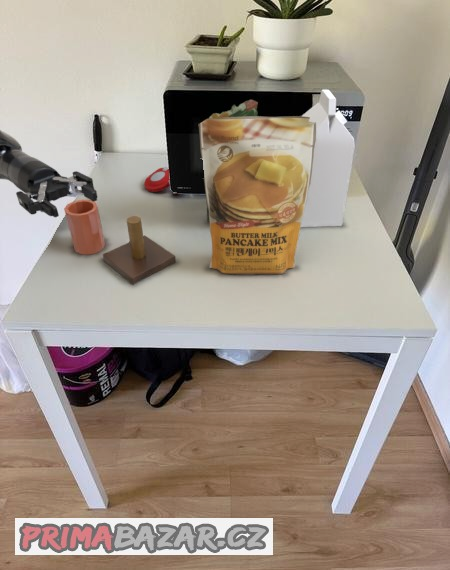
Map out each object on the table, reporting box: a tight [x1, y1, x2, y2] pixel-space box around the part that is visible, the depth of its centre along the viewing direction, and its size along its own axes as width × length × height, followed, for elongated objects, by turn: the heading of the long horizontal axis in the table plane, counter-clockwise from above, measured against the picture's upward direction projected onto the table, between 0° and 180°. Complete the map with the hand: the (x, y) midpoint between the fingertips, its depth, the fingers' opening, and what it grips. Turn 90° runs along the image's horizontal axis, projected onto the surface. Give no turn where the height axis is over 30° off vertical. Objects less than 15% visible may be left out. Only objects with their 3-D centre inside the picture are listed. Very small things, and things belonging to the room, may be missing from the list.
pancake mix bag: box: [197, 115, 316, 275], centre depth 77 cm, size 7×19×28 cm, turn 91°
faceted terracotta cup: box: [64, 199, 106, 256], centre depth 87 cm, size 6×6×9 cm
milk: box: [301, 89, 356, 228], centre depth 93 cm, size 12×12×26 cm
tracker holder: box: [143, 166, 180, 195], centre depth 109 cm, size 12×4×10 cm
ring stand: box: [102, 215, 177, 285], centre depth 83 cm, size 10×10×10 cm
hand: (76, 204), depth 85 cm, fingers open, 8 cm apart
